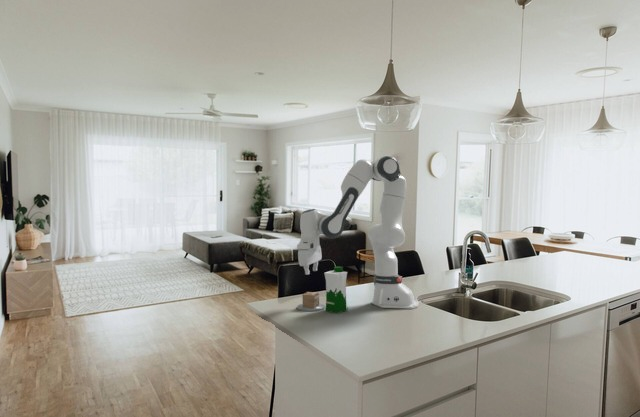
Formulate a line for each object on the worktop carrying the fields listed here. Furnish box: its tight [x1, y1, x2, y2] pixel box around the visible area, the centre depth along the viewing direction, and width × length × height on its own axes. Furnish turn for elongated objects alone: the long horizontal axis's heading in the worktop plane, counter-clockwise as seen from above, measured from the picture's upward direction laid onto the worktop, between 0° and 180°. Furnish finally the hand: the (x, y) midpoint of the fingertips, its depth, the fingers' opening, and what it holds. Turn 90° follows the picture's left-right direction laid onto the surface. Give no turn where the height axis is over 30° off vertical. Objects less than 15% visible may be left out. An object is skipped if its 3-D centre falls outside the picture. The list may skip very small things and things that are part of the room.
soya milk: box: [323, 265, 348, 314], centre depth 193 cm, size 9×9×20 cm
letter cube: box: [302, 291, 320, 308], centre depth 199 cm, size 6×6×6 cm
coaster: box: [296, 302, 326, 312], centre depth 199 cm, size 13×13×1 cm
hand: (311, 272), depth 199 cm, fingers open, 8 cm apart
